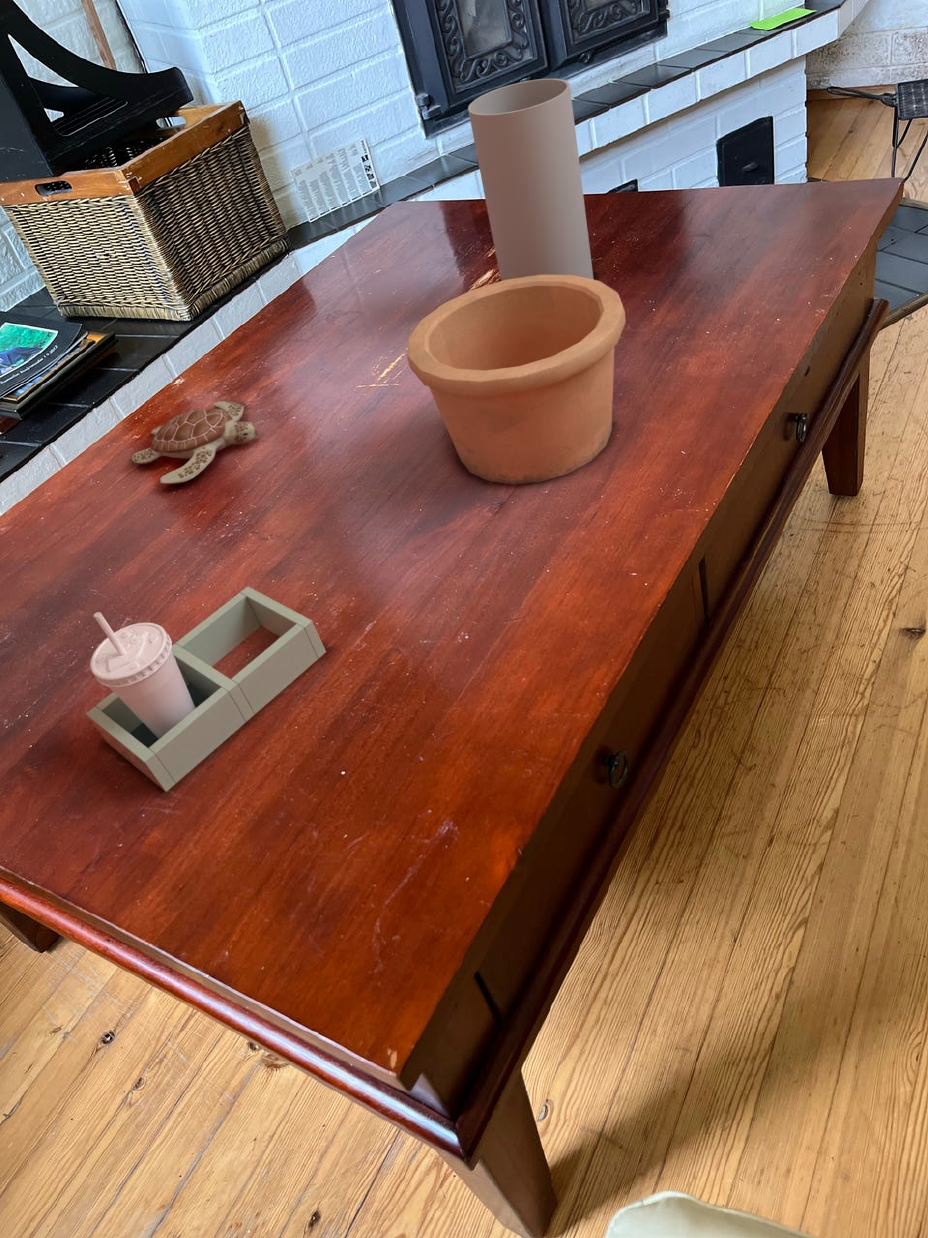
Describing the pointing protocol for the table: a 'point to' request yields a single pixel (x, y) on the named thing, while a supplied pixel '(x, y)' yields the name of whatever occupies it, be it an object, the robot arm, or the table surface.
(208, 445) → the decorative turtle
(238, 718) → the divided open box
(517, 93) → the cylinder vase
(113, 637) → the smoothie
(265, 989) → the table surface
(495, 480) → the pottery
